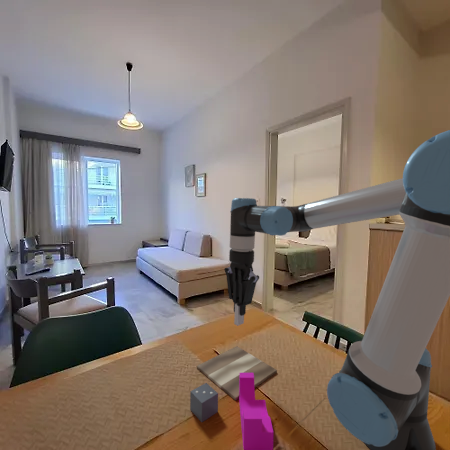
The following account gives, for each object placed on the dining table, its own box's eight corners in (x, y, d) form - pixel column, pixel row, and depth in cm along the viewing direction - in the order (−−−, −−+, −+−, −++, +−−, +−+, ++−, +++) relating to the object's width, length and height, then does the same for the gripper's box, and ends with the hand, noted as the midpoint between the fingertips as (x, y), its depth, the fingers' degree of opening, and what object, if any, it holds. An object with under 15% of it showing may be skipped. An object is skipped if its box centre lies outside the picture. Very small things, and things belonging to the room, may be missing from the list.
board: (276, 372, 80) (276, 369, 80) (235, 400, 68) (235, 397, 68) (236, 348, 93) (236, 346, 93) (196, 368, 81) (196, 365, 81)
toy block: (272, 452, 54) (273, 419, 53) (243, 452, 54) (244, 418, 53) (262, 399, 69) (262, 372, 68) (239, 399, 69) (239, 372, 68)
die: (218, 411, 64) (218, 392, 64) (201, 422, 61) (201, 402, 60) (206, 400, 68) (206, 381, 68) (190, 410, 65) (190, 390, 64)
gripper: (266, 251, 74) (262, 328, 77) (236, 244, 84) (233, 313, 86) (249, 254, 69) (245, 336, 72) (218, 246, 79) (216, 319, 81)
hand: (239, 323), depth 79 cm, fingers closed
